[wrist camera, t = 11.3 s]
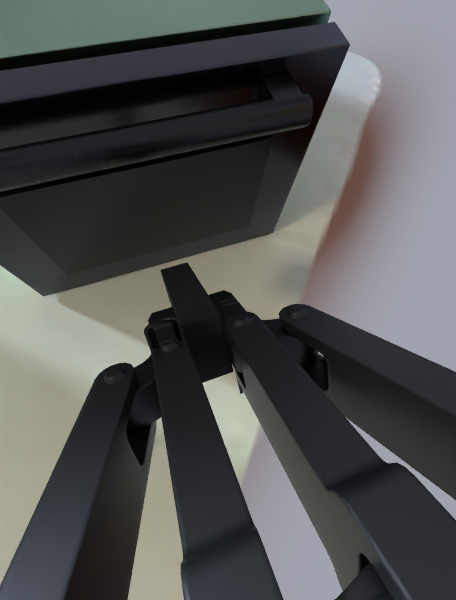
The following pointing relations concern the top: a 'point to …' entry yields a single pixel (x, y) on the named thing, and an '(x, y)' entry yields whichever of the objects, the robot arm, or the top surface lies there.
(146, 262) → the oven door
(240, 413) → the top surface
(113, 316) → the top surface
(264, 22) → the oven
